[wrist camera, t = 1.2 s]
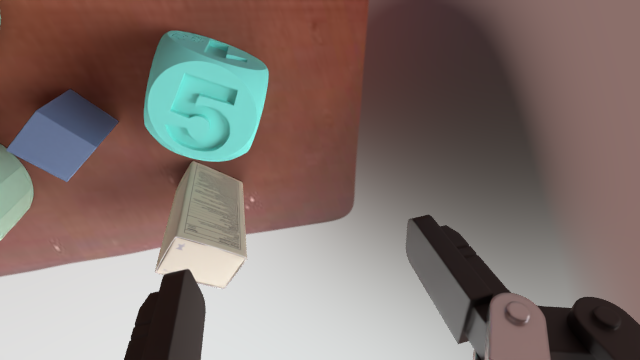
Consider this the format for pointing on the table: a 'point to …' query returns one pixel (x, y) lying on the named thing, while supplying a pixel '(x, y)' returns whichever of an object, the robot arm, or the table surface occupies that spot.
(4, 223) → the pot
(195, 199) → the cosmetic box
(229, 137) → the decorative dice
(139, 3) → the table surface
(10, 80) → the table surface
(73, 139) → the block
